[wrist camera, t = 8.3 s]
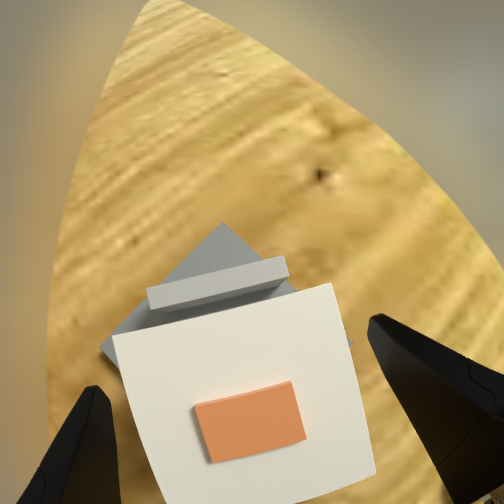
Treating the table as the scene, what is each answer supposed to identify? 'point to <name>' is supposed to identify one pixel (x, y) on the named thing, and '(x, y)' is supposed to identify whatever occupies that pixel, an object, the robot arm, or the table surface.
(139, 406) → the white block orange patch
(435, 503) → the table surface
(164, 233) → the table surface
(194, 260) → the plate
